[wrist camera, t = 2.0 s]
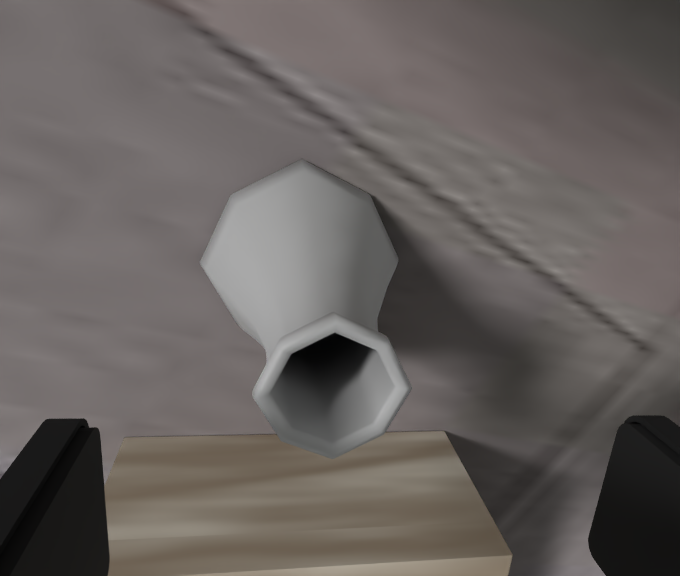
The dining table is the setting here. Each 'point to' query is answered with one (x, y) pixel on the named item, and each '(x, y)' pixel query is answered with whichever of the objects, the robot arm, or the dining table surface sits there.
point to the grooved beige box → (297, 509)
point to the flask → (312, 305)
